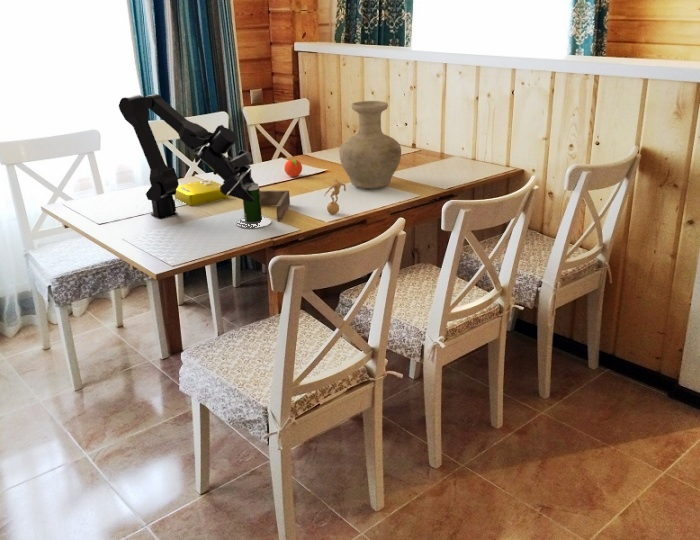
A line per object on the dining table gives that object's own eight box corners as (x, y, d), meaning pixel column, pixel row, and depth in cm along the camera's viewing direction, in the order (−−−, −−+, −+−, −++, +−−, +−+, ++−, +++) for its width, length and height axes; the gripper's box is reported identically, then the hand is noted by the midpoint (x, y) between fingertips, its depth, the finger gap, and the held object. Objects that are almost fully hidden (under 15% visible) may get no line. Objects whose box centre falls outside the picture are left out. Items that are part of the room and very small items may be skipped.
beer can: (249, 225, 214) (245, 188, 209) (242, 221, 218) (238, 184, 213) (264, 222, 216) (262, 185, 212) (257, 218, 220) (254, 181, 216)
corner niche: (238, 221, 219) (237, 206, 217) (250, 204, 236) (249, 190, 234) (280, 221, 218) (279, 206, 216) (290, 204, 234) (289, 190, 233)
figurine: (339, 209, 228) (338, 174, 223) (351, 214, 223) (350, 178, 219) (319, 215, 223) (317, 179, 218) (330, 219, 219) (329, 182, 214)
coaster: (250, 231, 210) (250, 230, 210) (229, 223, 217) (229, 222, 217) (278, 222, 217) (278, 221, 217) (257, 215, 224) (257, 214, 224)
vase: (391, 196, 240) (391, 109, 229) (331, 192, 247) (328, 107, 236) (407, 180, 260) (408, 99, 248) (351, 176, 267) (349, 97, 255)
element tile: (172, 198, 247) (171, 185, 245) (210, 190, 255) (209, 177, 253) (191, 207, 236) (189, 194, 234) (230, 198, 244) (228, 185, 242)
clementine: (305, 178, 266) (304, 160, 264) (288, 180, 264) (287, 162, 261) (299, 173, 273) (298, 155, 270) (282, 175, 271) (281, 157, 268)
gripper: (227, 150, 199) (267, 187, 202) (241, 137, 216) (278, 171, 220) (203, 177, 203) (243, 212, 206) (219, 161, 220) (256, 195, 223)
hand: (256, 197), depth 214 cm, fingers open, 9 cm apart
